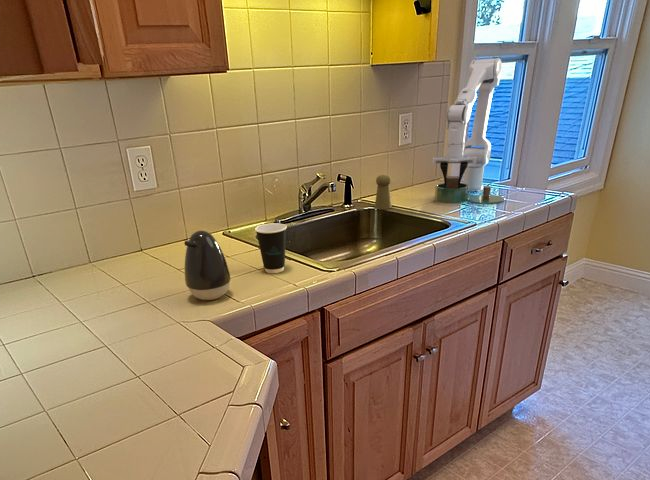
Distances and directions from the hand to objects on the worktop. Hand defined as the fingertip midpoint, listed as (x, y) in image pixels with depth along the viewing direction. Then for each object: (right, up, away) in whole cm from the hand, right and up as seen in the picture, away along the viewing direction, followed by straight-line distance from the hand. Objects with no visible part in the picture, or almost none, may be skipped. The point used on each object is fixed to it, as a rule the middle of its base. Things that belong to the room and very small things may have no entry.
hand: (452, 184), depth 179 cm
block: (0, -1, +1) cm, 1 cm away
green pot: (0, -5, +3) cm, 6 cm away
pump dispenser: (-75, -48, -63) cm, 109 cm away
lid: (+12, -6, -1) cm, 13 cm away
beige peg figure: (-24, -8, +1) cm, 26 cm away
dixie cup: (-61, -40, -50) cm, 88 cm away
